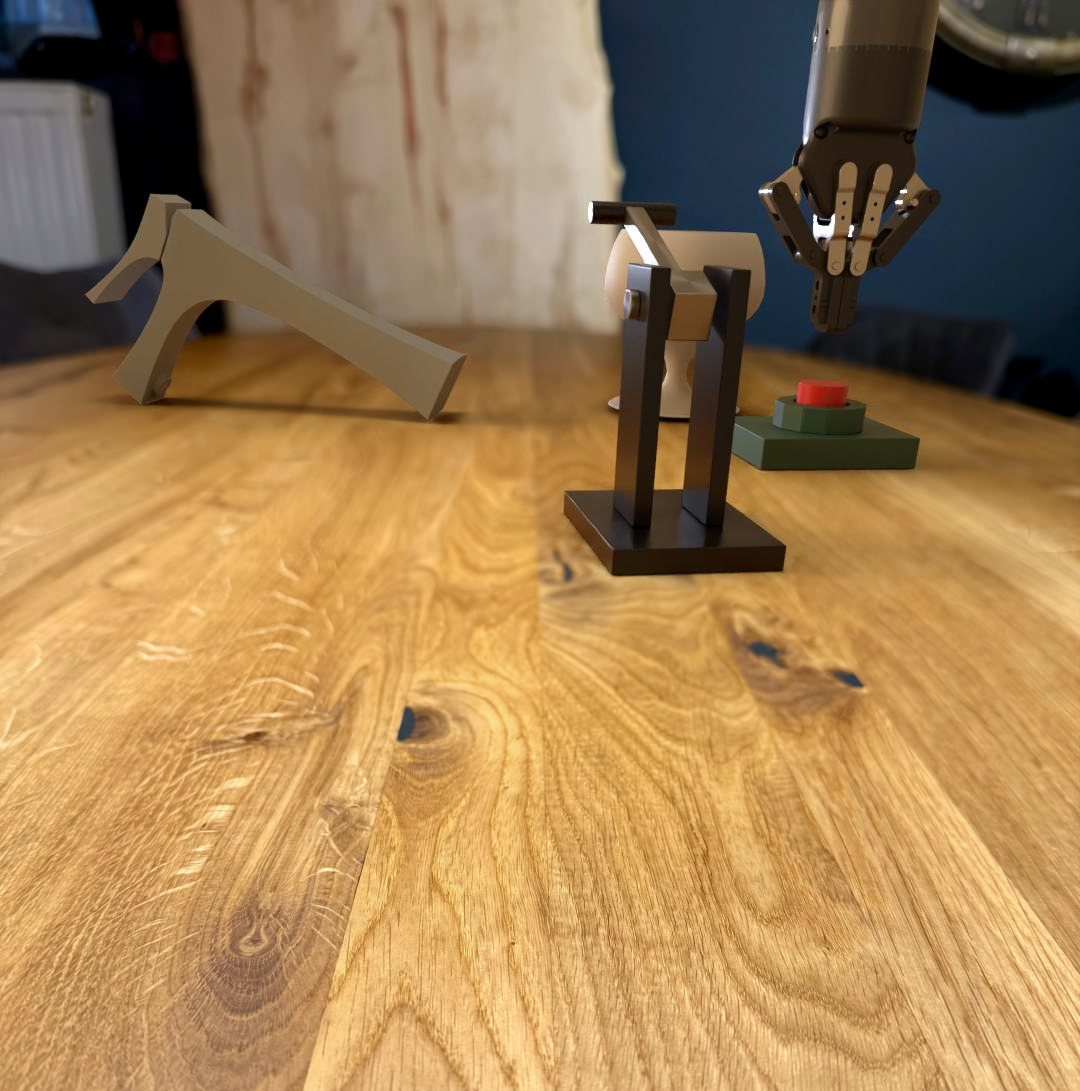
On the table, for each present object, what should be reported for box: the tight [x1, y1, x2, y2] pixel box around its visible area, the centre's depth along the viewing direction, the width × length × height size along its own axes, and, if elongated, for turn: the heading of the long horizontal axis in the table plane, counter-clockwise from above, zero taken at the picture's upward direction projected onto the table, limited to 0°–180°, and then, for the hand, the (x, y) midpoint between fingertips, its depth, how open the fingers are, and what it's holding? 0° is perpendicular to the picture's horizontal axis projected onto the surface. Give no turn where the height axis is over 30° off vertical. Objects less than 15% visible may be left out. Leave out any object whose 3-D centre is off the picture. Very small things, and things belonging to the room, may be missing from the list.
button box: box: [731, 394, 921, 471], centre depth 78 cm, size 12×9×4 cm
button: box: [796, 379, 850, 407], centre depth 77 cm, size 4×4×2 cm
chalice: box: [604, 228, 766, 420], centre depth 92 cm, size 14×14×15 cm
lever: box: [587, 200, 718, 341], centre depth 55 cm, size 14×5×2 cm, turn 10°
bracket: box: [563, 263, 787, 576], centre depth 54 cm, size 12×9×14 cm
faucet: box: [84, 193, 468, 420], centre depth 88 cm, size 6×17×30 cm
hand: (829, 331), depth 75 cm, fingers closed
